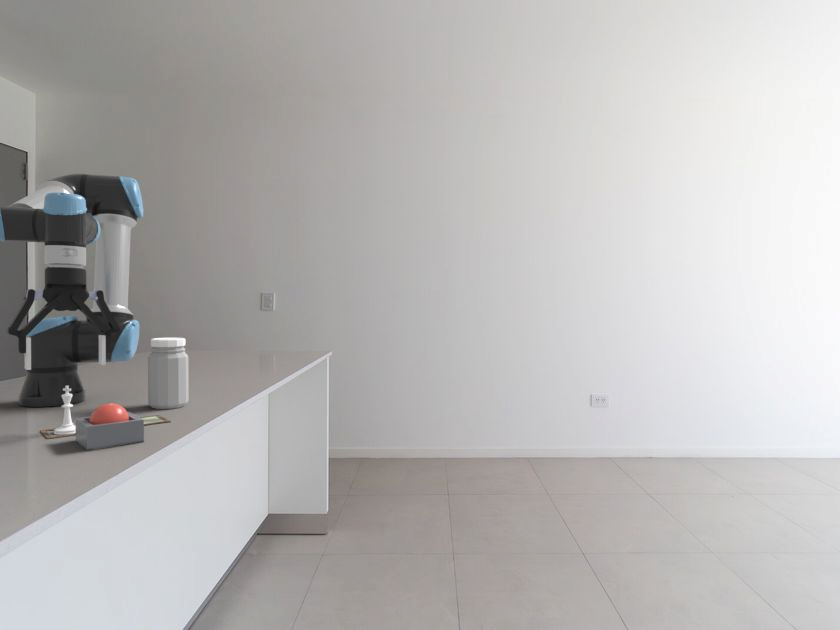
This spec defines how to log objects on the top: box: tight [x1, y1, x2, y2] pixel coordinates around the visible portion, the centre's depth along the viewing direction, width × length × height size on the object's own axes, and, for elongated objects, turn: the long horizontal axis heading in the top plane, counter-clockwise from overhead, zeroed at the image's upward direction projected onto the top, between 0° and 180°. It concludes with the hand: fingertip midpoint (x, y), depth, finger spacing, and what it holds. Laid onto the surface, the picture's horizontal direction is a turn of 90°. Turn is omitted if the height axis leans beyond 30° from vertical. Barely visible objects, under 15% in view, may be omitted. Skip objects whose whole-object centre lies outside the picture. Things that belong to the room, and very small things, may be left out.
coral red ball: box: [89, 403, 129, 425], centre depth 113 cm, size 7×7×7 cm
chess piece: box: [53, 386, 76, 436], centre depth 120 cm, size 5×5×10 cm
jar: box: [147, 337, 190, 410], centre depth 148 cm, size 10×10×18 cm
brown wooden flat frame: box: [39, 414, 171, 440], centre depth 125 cm, size 9×24×1 cm, turn 132°
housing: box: [74, 411, 145, 452], centre depth 113 cm, size 10×10×4 cm
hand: (66, 367), depth 119 cm, fingers open, 13 cm apart
